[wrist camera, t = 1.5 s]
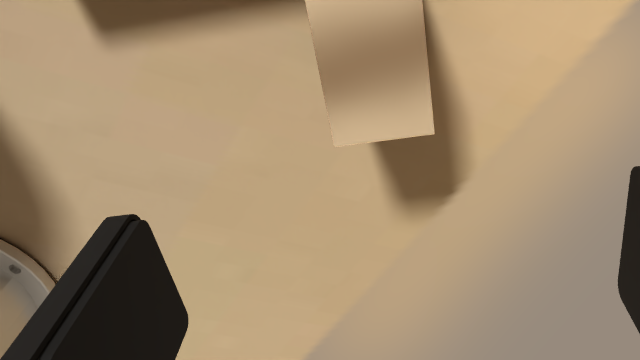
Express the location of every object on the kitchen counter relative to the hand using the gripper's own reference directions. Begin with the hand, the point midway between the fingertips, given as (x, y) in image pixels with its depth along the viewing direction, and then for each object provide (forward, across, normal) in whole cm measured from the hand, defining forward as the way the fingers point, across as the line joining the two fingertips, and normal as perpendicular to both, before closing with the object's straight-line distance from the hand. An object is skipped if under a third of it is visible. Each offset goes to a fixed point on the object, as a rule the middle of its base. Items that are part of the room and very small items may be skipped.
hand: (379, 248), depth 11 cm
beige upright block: (+20, 0, 0) cm, 20 cm away
